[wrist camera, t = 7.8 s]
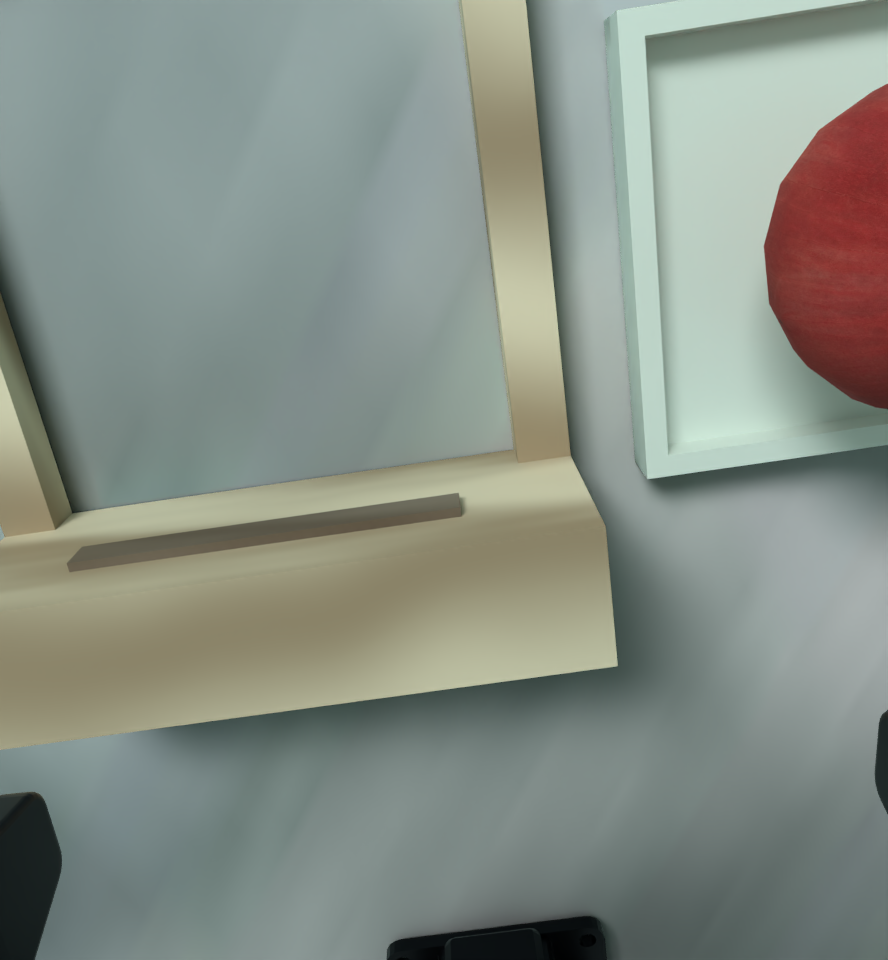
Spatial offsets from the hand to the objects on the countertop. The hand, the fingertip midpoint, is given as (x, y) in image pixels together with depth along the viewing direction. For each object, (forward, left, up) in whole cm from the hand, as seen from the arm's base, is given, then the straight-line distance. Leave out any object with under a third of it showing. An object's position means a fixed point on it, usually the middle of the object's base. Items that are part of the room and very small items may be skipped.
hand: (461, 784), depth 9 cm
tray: (+4, -9, -12) cm, 15 cm away
